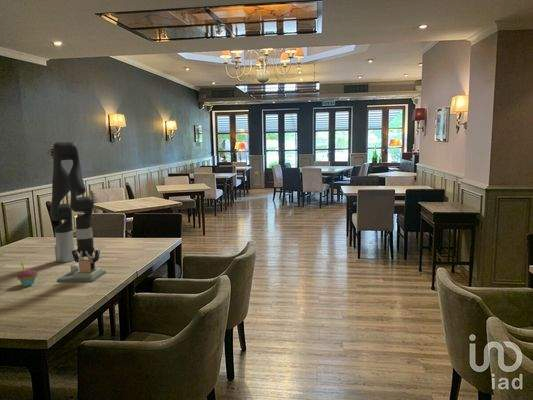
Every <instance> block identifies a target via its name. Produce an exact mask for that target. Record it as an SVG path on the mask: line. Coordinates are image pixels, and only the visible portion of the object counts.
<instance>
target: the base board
mask: <svg viewBox="0 0 533 400" xmlns="http://www.w3.org/2000/svg"><path fill="white" fill-rule="evenodd" d="M69 268H70V271H68V272H67V273H65V274H63V275H61V276H60V277H59V278H57V279H56V282H57V283H59V282H60V283H61V282H62V283H66V282H67V283H75V282H76V283H93V282H95V281H96V280H98V279H99V278H101V277H102V276H104V275H106V274H107V270H103V267H95V270H93V271H92V272H90V273H80V269H79V263H73V264H71V265H70V267H69Z"/></svg>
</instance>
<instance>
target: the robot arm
mask: <svg viewBox="0 0 533 400" xmlns="http://www.w3.org/2000/svg"><path fill="white" fill-rule="evenodd" d="M79 154H80V153H79V148H78V146H77V144H76V143H75V142H74V141H62V142H61V141H58V142H55V143H54V144H53V147H52V159H53V170H52V180H51V181H52V182H51V187H52V188H51V202H50V208H49V216H50V219H51V220H52V221H63V223H61V224H58V225H57V226H55V227H54V235H55V245H54V254H55V262H57V263H68V262H73V261H74V262H75V263H77V264H79V261H80V260H82V259H84V258H88V259H89V260H90V262H91V270H94V269H95V268H96V263H97V262H98V261H99V260H100V253H101V250H100V249H95V247H94V245H95V244H94V233H93V227H92V215H93V209H94V206H95V200H94V199H93V197H92V196H87V195H86V196H82V195H84V194H85V193H86V191H87V190H86V185H85V182H84V178H83V175H82V169H81V160H80V155H79ZM62 161H72V166H71V169H70V171H69V172H68V171H67V169H66V168H65V167H64V166H63V164H62ZM68 194H70V202H69V203H67V202H66V203H61V202H62V200H63V199H64V198H65V197H66V196H67V195H68ZM73 212H75V213H79V212H84V213H83V214H82V215H79V216H76V217H75V228H76V229H75V236H76V246H77V249H75V240H74V227H73ZM79 270H80V267H79Z"/></svg>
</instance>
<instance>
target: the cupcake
mask: <svg viewBox="0 0 533 400" xmlns="http://www.w3.org/2000/svg"><path fill="white" fill-rule="evenodd" d="M20 263H21V267H22V271H19V273H17V275H16V278H17V279H16V280H19V282H20V283H21V285H22V287H30V286H33V285H35V280H36V278H37V277H38V276H39V275H38V272H37V271H36V270H34V269H25V266H24V262H22V261H20ZM32 284H33V285H32ZM29 285H30V286H29Z"/></svg>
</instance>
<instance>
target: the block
mask: <svg viewBox="0 0 533 400" xmlns="http://www.w3.org/2000/svg"><path fill="white" fill-rule="evenodd" d="M78 264H79V267H80V269H79V270H80V273H90V272H92V271H93V270H91V262H90V260H89V259H88V257H84V259H82V260H80V261H79V263H78ZM94 270H95V269H94Z"/></svg>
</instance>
